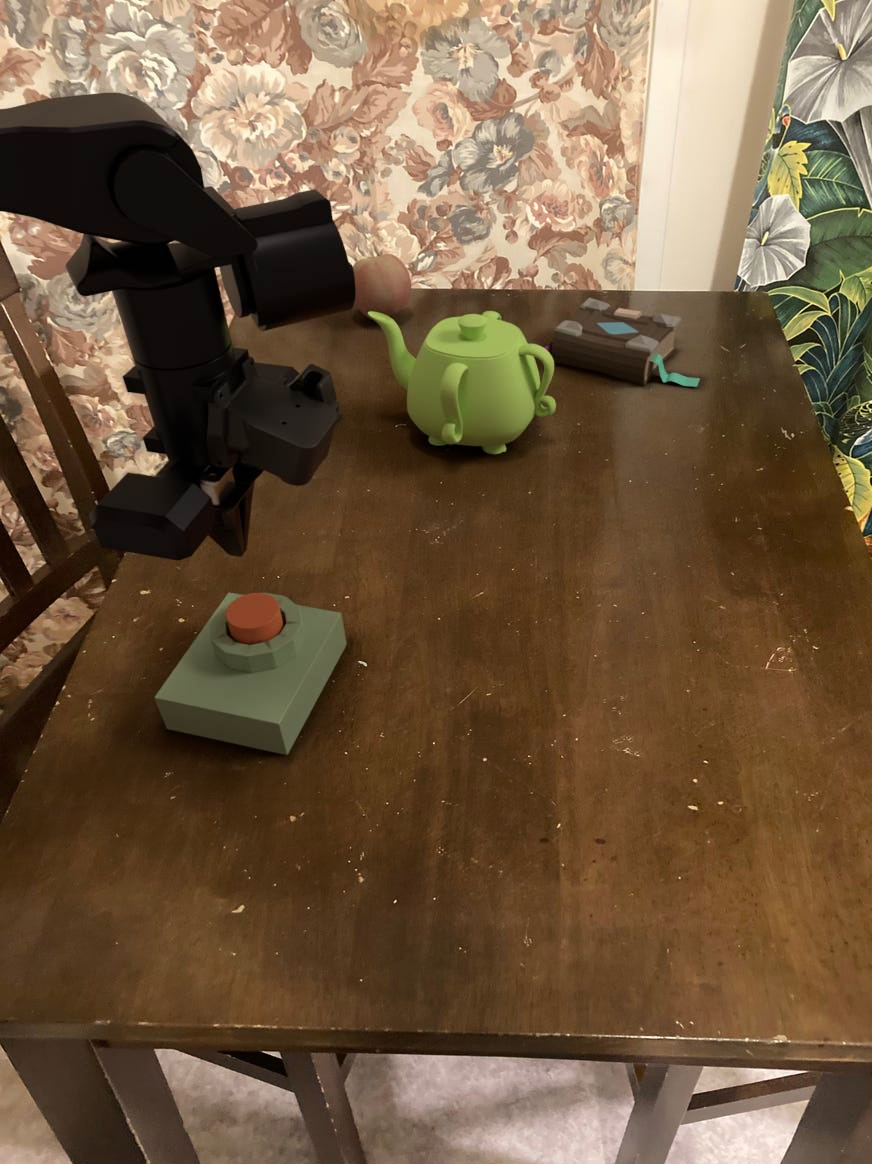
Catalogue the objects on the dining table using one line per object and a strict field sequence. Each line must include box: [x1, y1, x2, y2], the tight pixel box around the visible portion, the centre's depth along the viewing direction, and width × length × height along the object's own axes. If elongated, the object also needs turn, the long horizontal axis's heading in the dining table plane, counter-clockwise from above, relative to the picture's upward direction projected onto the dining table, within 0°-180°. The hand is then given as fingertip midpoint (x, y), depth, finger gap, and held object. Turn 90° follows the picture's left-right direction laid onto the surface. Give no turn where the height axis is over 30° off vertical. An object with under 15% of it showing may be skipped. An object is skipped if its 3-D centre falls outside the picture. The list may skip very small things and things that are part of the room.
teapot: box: [368, 310, 557, 455], centre depth 93 cm, size 16×14×13 cm
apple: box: [352, 253, 412, 321], centre depth 115 cm, size 8×8×8 cm
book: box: [543, 297, 701, 388], centre depth 107 cm, size 20×12×5 cm, turn 60°
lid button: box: [226, 592, 283, 645], centre depth 68 cm, size 4×4×2 cm
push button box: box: [153, 592, 347, 756], centre depth 69 cm, size 12×10×6 cm
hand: (237, 553), depth 64 cm, fingers closed
